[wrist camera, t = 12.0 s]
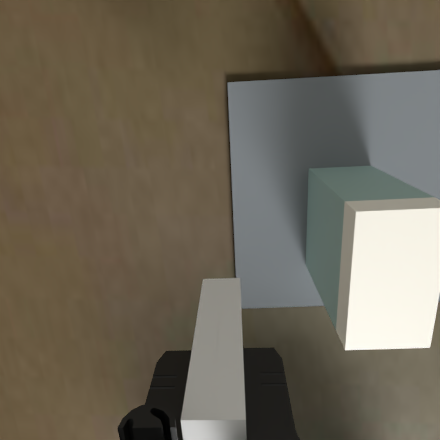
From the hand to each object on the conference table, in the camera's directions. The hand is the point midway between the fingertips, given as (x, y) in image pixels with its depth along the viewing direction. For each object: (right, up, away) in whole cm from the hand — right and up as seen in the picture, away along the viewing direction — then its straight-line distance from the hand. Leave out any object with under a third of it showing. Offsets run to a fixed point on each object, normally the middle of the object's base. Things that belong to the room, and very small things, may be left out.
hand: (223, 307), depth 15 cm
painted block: (+8, +4, +10) cm, 13 cm away
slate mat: (+11, +5, +10) cm, 15 cm away
